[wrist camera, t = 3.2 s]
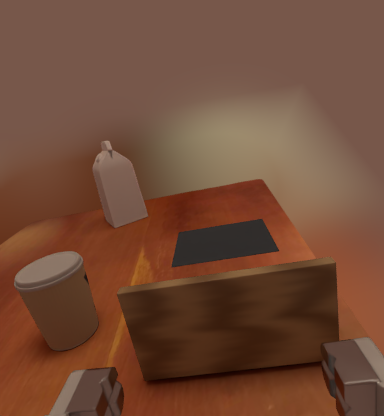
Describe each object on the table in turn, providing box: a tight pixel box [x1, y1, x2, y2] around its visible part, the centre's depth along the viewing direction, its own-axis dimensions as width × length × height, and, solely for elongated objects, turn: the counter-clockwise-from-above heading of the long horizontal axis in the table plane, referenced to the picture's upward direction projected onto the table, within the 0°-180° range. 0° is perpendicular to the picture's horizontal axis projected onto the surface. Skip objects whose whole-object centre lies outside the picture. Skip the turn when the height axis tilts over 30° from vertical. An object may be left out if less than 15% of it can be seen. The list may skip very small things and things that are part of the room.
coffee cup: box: [14, 251, 98, 351], centre depth 43 cm, size 9×9×12 cm
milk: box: [93, 141, 148, 228], centre depth 93 cm, size 12×12×26 cm
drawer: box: [117, 257, 339, 381], centre depth 37 cm, size 22×14×13 cm, turn 88°
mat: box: [172, 219, 279, 267], centre depth 66 cm, size 22×18×1 cm
